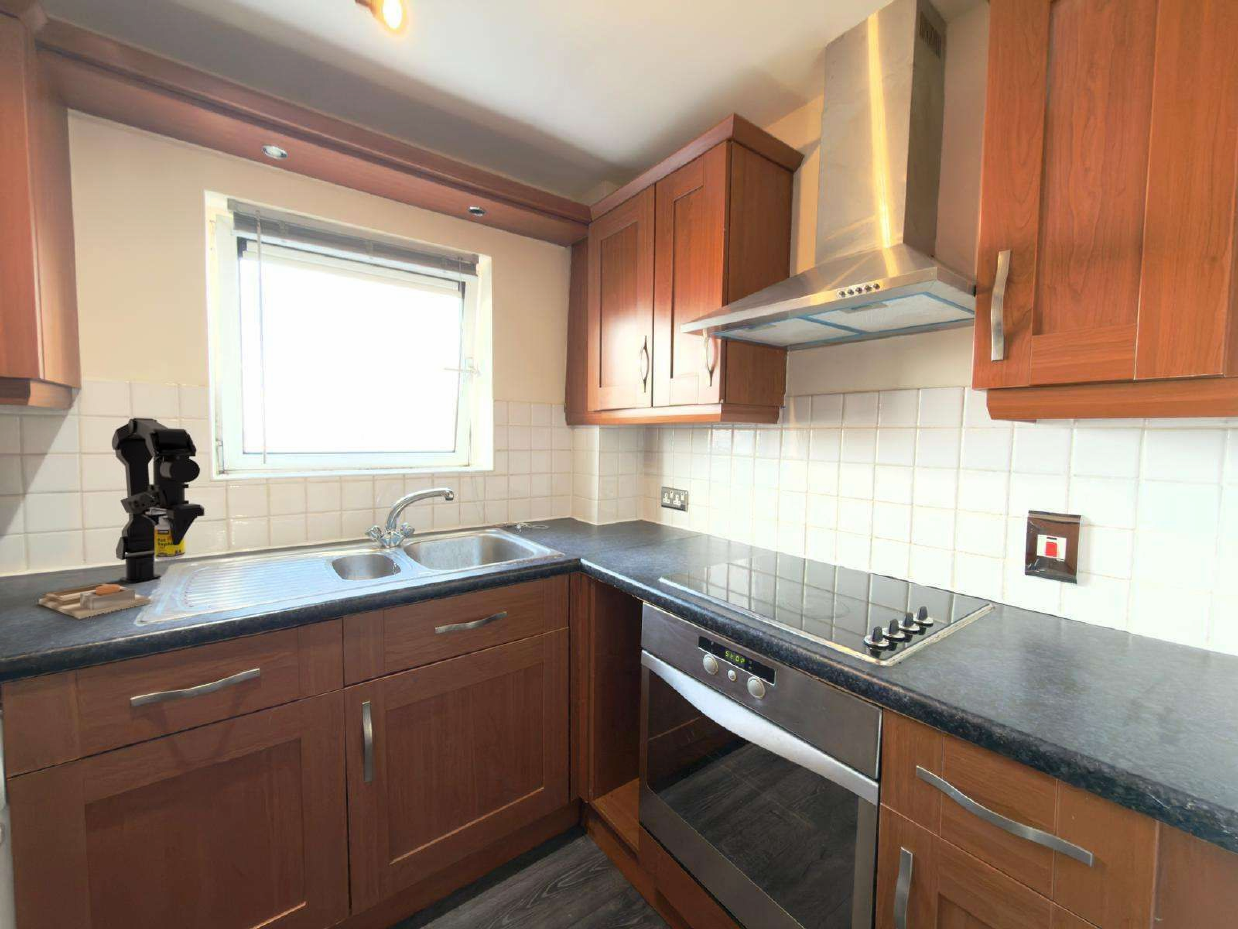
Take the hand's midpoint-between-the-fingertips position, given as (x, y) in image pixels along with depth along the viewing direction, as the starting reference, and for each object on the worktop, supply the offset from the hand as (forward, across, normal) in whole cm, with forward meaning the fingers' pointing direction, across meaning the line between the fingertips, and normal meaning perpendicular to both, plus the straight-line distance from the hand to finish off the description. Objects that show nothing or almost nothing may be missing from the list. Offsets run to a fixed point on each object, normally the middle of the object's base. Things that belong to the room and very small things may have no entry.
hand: (169, 543), depth 124 cm
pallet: (+13, -6, -12) cm, 18 cm away
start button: (+10, 0, -11) cm, 15 cm away
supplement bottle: (+4, 0, 0) cm, 4 cm away
